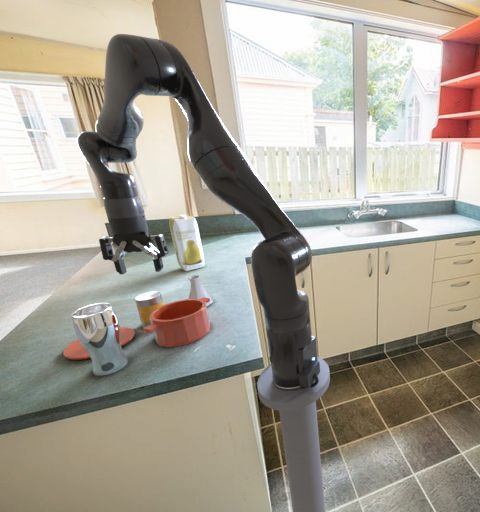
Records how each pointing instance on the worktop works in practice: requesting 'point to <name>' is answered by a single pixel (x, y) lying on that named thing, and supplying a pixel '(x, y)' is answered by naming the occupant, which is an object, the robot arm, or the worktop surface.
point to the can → (148, 305)
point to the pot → (180, 322)
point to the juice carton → (187, 242)
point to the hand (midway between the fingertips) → (141, 272)
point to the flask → (198, 289)
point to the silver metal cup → (100, 337)
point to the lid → (79, 352)
